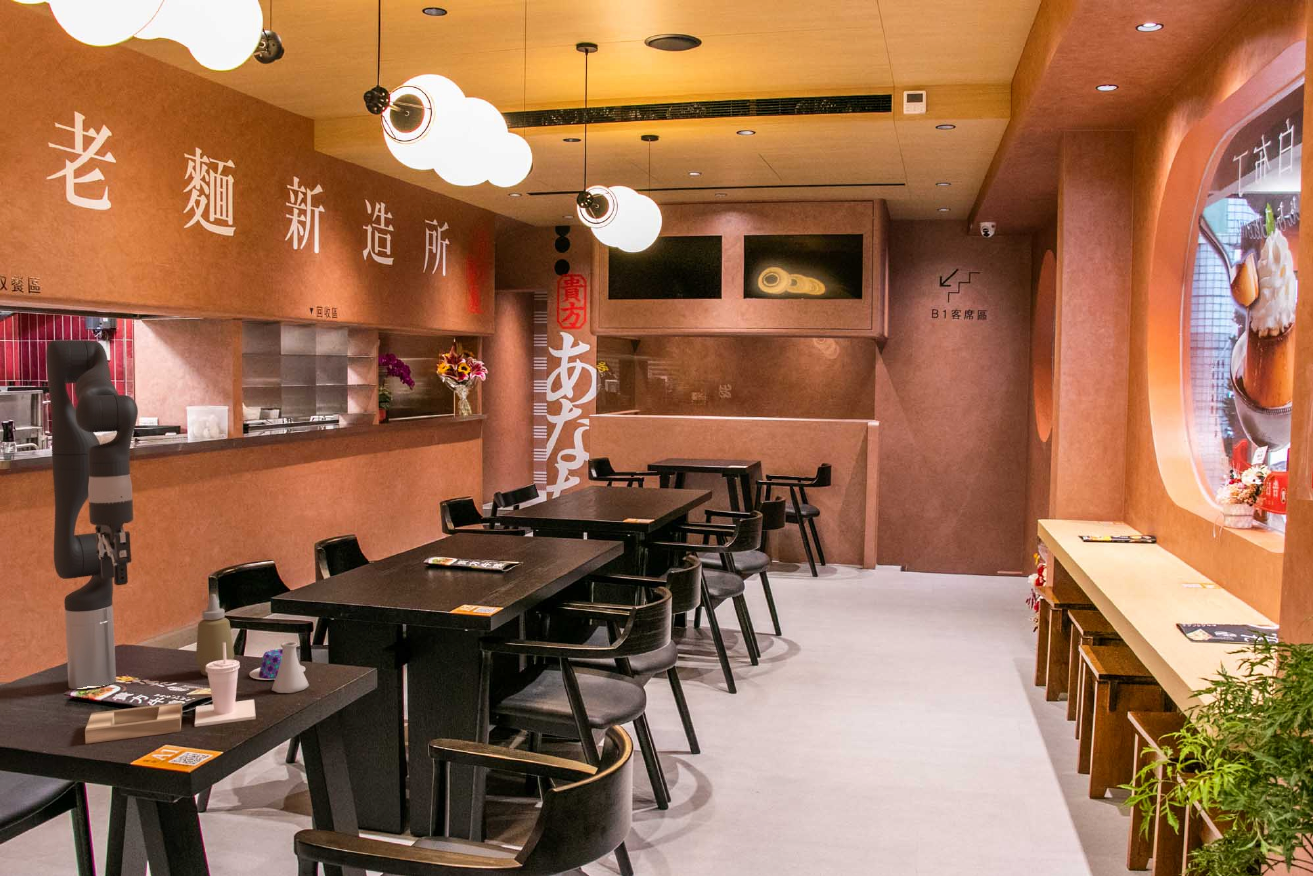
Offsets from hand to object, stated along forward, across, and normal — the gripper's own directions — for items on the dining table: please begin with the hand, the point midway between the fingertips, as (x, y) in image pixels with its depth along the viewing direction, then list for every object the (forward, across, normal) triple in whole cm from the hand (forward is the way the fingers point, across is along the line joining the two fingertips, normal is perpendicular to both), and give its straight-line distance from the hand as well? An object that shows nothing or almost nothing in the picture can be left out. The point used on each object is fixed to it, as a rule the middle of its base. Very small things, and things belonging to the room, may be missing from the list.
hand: (114, 581), depth 202 cm
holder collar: (+28, -6, -1) cm, 29 cm away
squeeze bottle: (+28, +20, -26) cm, 43 cm away
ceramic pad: (+28, -9, -17) cm, 34 cm away
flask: (+28, -2, -33) cm, 44 cm away
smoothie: (+28, -9, -17) cm, 34 cm away
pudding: (+29, +10, -36) cm, 47 cm away
